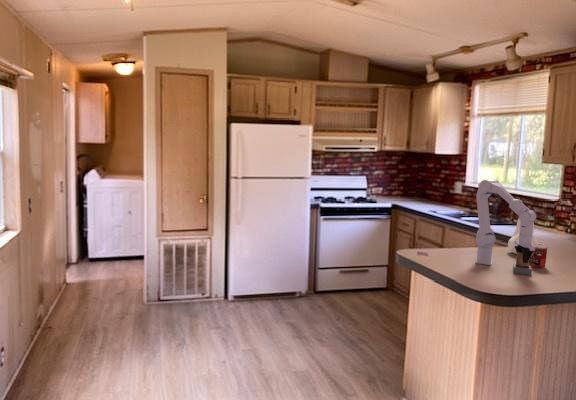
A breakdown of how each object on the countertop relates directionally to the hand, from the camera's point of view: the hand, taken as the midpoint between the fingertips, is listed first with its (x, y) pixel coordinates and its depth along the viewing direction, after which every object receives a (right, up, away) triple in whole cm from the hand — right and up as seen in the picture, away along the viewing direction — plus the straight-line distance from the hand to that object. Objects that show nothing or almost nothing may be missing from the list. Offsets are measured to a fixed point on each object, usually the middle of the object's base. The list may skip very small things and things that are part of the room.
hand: (522, 261), depth 254 cm
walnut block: (0, -2, 0) cm, 2 cm away
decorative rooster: (+17, -1, +39) cm, 43 cm away
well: (0, -6, +1) cm, 6 cm away
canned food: (+14, -5, +14) cm, 21 cm away
